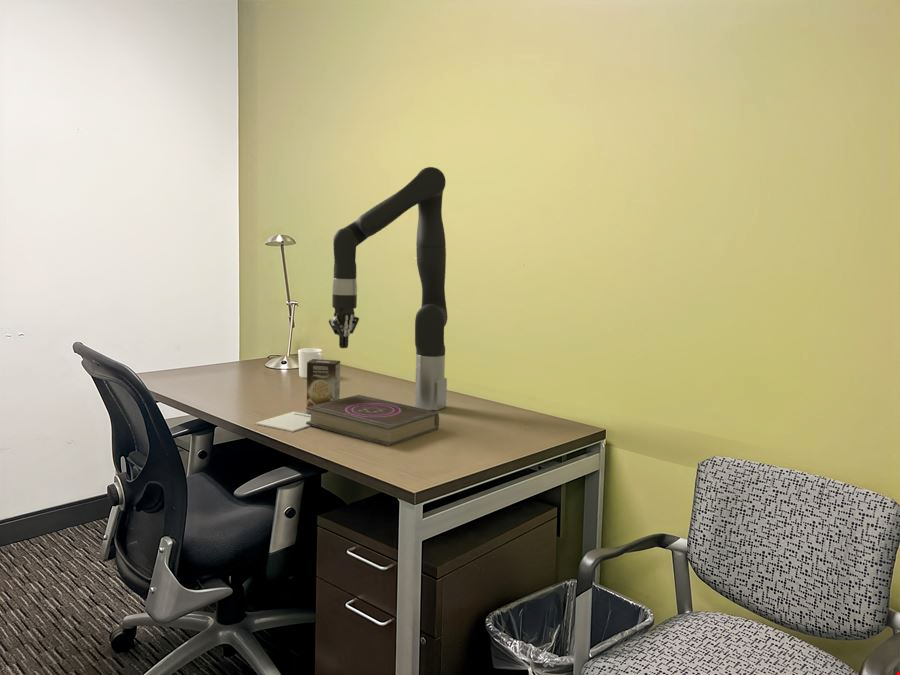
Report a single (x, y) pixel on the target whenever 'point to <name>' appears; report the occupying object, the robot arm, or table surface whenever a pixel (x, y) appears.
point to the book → (373, 419)
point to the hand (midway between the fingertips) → (343, 347)
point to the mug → (307, 359)
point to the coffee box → (322, 382)
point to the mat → (287, 421)
